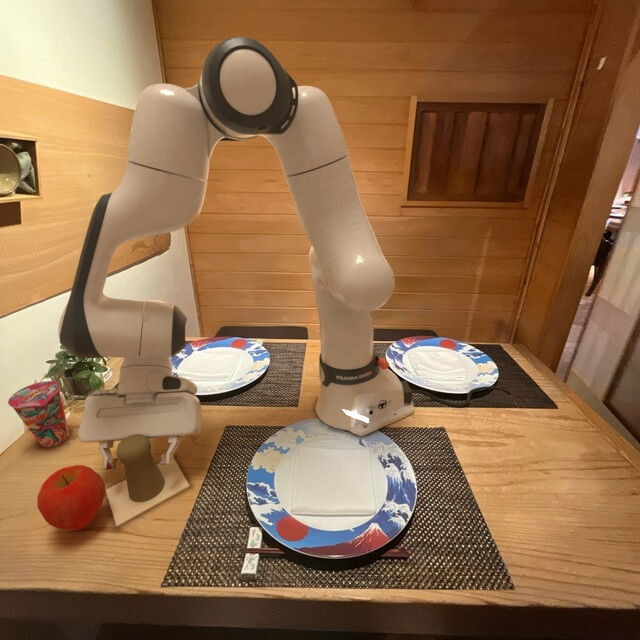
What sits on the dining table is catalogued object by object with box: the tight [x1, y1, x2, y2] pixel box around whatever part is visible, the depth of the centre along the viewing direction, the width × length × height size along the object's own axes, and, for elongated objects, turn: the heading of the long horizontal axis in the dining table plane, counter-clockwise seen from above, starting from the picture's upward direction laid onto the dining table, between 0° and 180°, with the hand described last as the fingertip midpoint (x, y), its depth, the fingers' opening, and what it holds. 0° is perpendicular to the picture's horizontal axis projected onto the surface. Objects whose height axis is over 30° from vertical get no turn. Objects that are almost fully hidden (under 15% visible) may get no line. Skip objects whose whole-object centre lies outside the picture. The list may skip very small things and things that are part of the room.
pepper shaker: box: [115, 434, 165, 502], centre depth 62 cm, size 6×6×11 cm
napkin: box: [105, 456, 191, 528], centre depth 64 cm, size 12×9×1 cm
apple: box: [36, 464, 106, 531], centre depth 56 cm, size 9×8×11 cm
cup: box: [7, 380, 70, 448], centre depth 74 cm, size 9×8×12 cm
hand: (138, 467), depth 61 cm, fingers open, 8 cm apart
